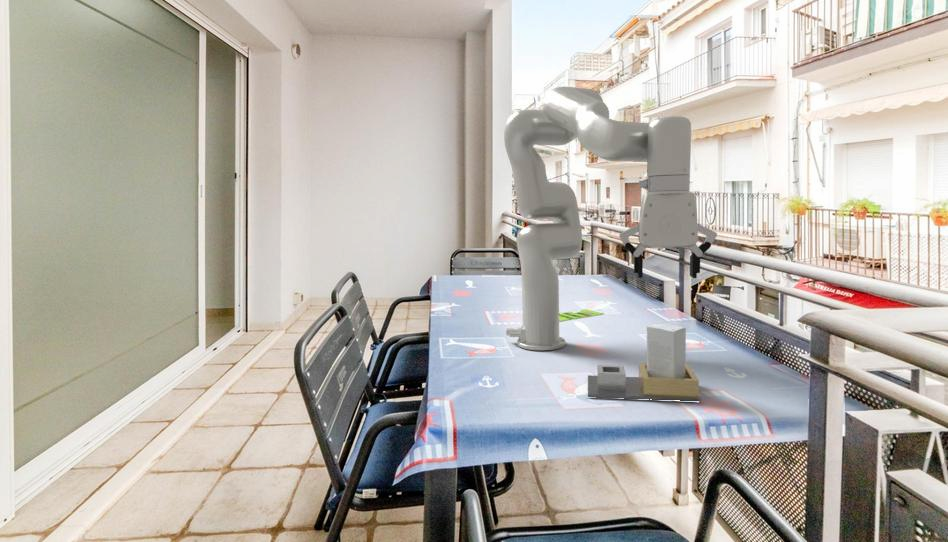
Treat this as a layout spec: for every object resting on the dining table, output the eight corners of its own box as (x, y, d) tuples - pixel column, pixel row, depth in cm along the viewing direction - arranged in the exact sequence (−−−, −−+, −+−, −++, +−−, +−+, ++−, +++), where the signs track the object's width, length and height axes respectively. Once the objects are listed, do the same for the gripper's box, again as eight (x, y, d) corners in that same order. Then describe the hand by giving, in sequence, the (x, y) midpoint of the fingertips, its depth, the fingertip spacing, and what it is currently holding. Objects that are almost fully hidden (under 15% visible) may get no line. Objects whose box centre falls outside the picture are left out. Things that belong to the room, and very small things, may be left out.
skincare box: (685, 388, 101) (687, 327, 100) (673, 393, 99) (674, 331, 97) (657, 380, 106) (658, 322, 104) (645, 385, 103) (645, 326, 102)
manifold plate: (587, 398, 100) (587, 377, 99) (587, 379, 111) (587, 360, 110) (700, 403, 96) (700, 382, 95) (688, 382, 106) (689, 363, 106)
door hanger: (585, 310, 181) (525, 320, 169) (585, 309, 181) (525, 318, 169) (604, 314, 173) (543, 325, 161) (604, 313, 173) (543, 323, 161)
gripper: (620, 187, 96) (620, 279, 98) (723, 184, 92) (719, 280, 95) (618, 188, 103) (618, 274, 106) (713, 185, 100) (710, 274, 102)
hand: (666, 277), depth 100 cm, fingers open, 9 cm apart
